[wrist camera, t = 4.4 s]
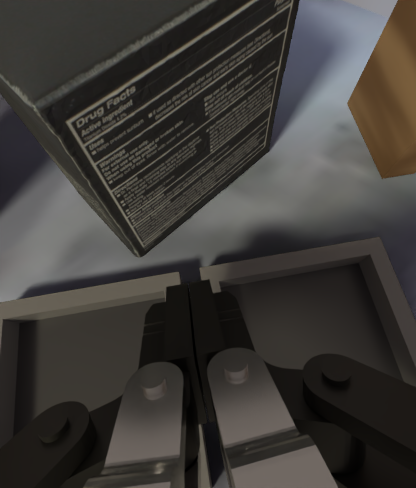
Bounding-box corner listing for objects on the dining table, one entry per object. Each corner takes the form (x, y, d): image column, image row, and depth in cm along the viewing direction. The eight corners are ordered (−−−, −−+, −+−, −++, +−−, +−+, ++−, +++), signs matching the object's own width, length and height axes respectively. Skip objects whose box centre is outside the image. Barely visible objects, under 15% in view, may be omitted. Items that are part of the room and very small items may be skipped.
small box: (200, 96, 21) (189, -137, 11) (272, 151, 19) (330, -71, 10) (71, 188, 19) (-85, -12, 9) (139, 263, 17) (35, 112, 7)
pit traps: (-10, 534, 12) (-39, 555, 11) (6, 310, 16) (-14, 305, 14) (442, 440, 13) (469, 448, 12) (366, 247, 17) (379, 236, 15)
